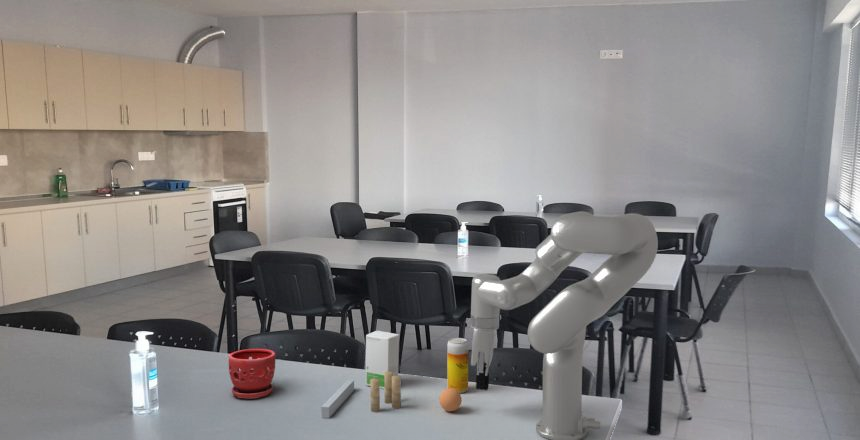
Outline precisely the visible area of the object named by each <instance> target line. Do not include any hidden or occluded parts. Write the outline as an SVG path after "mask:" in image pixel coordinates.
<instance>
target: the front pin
mask: <svg viewBox="0 0 860 440" xmlns="http://www.w3.org/2000/svg"><path fill="white" fill-rule="evenodd" d="M401 385H402V384H401V375H399V374H398V375H395V376H392V403H391V408H392V409H394V410H395V409H401V408H402V404H401V403H402V401H401V400H402V399H401V397H402V395H401V393H402V391H401V388H402V387H401Z"/></svg>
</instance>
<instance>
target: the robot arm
mask: <svg viewBox="0 0 860 440" xmlns="http://www.w3.org/2000/svg"><path fill="white" fill-rule="evenodd" d="M658 241H659V240H658V235H657V231H656V228H655V226H654V224H653V222H652V221H651V220H650V219H649V218H648V217H646V216H645V215H643V214H641V213H634V212H633V213H632V212H631V213H630V212H629V213H624V214H620V215H616V216H603V215H602V216H599V215H598V216H596V215H593V214H592V213H591V212H588V211H575V212H570V213H565V214H562V215H560V216H558V218H557V219H556V220H555V221H554V222H553V223H552V226H551V230H550V234H549V235H548V236H547V237H545V239H544V240H543V241H542V242H541V243H539V244H538V245H537V246H536V248H535V257H536V258H535V259H534V260H533V261H532V262H531V264H530V265H528V266H527V267H526V268H525V269H524V270H523V271H522V272H521V273H520V274H518V275H516V276H513V277H510V278H506V279H502V280H501V278H500V277H499V276H497V275H494V274H488V273H487V274H486V273H484V274H483V273H482V274H480V273H479V274H477V275H474V277H472V280H471V295H470V296H471V298H470V299H471V301H470V323H469V324H470V328H471V329H473V332H472V333H473V334H472V343H471V344H472V347H471V359H470V366H472V367H475V366H476V375H475V376H476V377H475V378H476V379H475V389H476V390H483V391H488V390H489V386H490V385H489V384H490V373H489V372H490V370H489V369H490V365H491V362H492V359H493V354H494V346H495V345H494V343H495V331H497V330H498V329H499V328H500V312H501V310H504V311H510V310H514V309H515V308H519V307H521V306H523V305H526V304H529V303H531V302H532V301H534V300H535V299H536V298H538V296H540V295H541V294H542V293H544V291H546V289H548V288H549V287H550V286H551V285H552V284H553V283H554V281H556V279H557V278H558V277H559V276H560V275H561V273H562V272H563V271H564V270H565V269H566V268H568V267H569V266H570V265H571V264H572V263H573V262H575V260H576V259H578V258H579V257H580V256H581V255H582V254H583V253H584V254H593V255H605V256H610V257H608V258H607V259H606V260H604V262H602V264H601V265H600V266H599V267H598V268H597V269H595V271H593V272H592V273H591V274H590V275H589V276H588V277H586V278H585V279H583V280H580V281H577V282H575V283H572V284H570V285H568V286H566V287H565V288H564V289H562V290H561V291H559V293H557V294H556V295H555V296H554V297H553V298H552V299H551V301H549V302H548V303H547V304H546V305H545V306H544V307H543V308H542V309H540V311H539V312H538V313H537V314H536V315H535V316H534V317H533V318H532V319H531V320H530V322H529V324H528V328H527V338H528V342H529V344H530V346H531V347H532V348H533V349H534V350H536V351H537V352H539V353H542V354H543V358H542V359H543V360H542V401H541V402H542V410H541V411H542V414H541V415H542V417H541V420H540V421H538V422H537V423H536V425H535V432H536V433H537V434H538V435H540V437H543V438H545V439H548V440H582V439H584V438H586V436H587V435H588V429H593V430H594V429H595V430H601V421H600V420H596V418H595V417H586V416H584V415H583V414H584V413H583V410H582V407H583V406H582V404H583V401H582V397H583V395H582V394H583V391H582V390H583V389H582V387H583V358H584V357H583V356H584V355H583V354H584V347H585V342H586V340H585V339H586V334H587V333H586V332H587V326H589V324H590V323H592V322H594V321H597V320H598V319H600V318H601V317H603V316H604V315H605V314H606V313H607V312H608V311H609V310H610V309H611V308H612V307H613V306H614V305H615V304H616V303H617V302H618V301H620V299H621V298H623V297H624V296H625V295H626V294H627V293H628V292H629V291H630V290H631V289H632V288H633V287H634V286H635V285H636V284H637V283H638V282H639V281H640V280H641V279H643V277H644V276H645V275H646V274H647V272H648V271H649V270H650V269H651V267H652V265H653V264H654V262H655V260H656V257H657V252H658V247H659V244H658V243H659V242H658Z"/></svg>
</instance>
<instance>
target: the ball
mask: <svg viewBox="0 0 860 440" xmlns="http://www.w3.org/2000/svg"><path fill="white" fill-rule="evenodd" d="M438 401H439V405H440V407H441V408H442V409H443V410H444V411H447V412H454V411H456V410H458V409H459V408H460V406H461V405H462V401H463V400H462V395H461V393H459V392H458V391H457V390H455V389H452V388H449V389H448V388H446V389H444V390H442V391H441V393H440V395H439V400H438Z"/></svg>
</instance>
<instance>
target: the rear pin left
mask: <svg viewBox="0 0 860 440" xmlns="http://www.w3.org/2000/svg"><path fill="white" fill-rule="evenodd" d="M370 385H371V386H370V412H372V413H378V412H380V411H381V410H380V409H381V408H380V407H381V405H380V404H381V402H380V399H381V398H380V397H381V395H380V392H381V391H380V388H379V379H377V378H374V379H371V380H370Z"/></svg>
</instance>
